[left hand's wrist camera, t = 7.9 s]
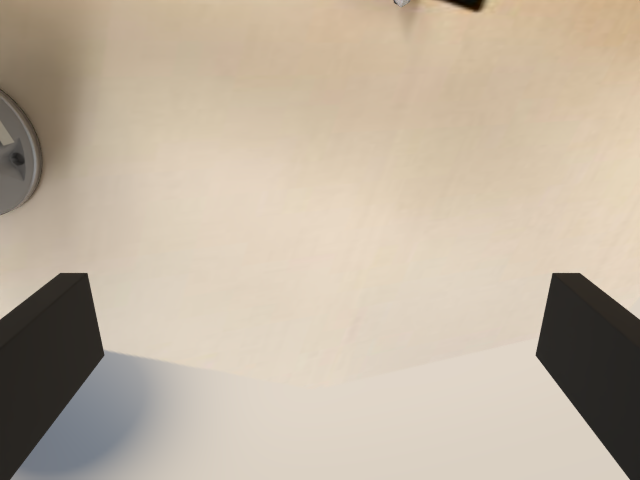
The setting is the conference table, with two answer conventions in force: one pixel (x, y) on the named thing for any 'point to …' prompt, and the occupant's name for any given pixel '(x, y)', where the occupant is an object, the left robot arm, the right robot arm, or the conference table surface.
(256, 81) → the conference table surface
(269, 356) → the conference table surface
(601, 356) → the left robot arm
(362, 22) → the conference table surface
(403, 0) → the fish
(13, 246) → the conference table surface
